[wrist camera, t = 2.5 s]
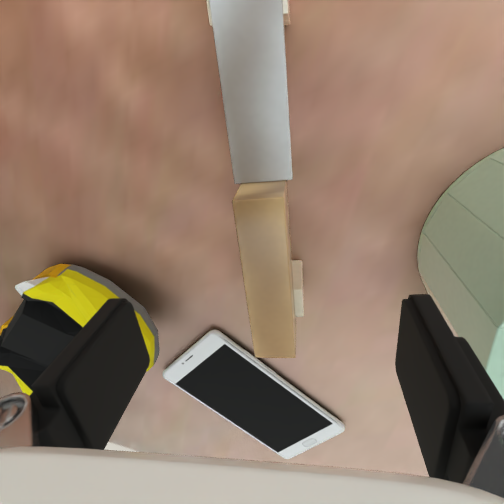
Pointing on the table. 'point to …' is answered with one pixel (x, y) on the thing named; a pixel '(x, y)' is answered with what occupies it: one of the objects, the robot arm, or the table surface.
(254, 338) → the knife
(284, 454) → the smartphone
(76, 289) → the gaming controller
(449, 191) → the pot
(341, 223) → the table surface
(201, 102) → the table surface
